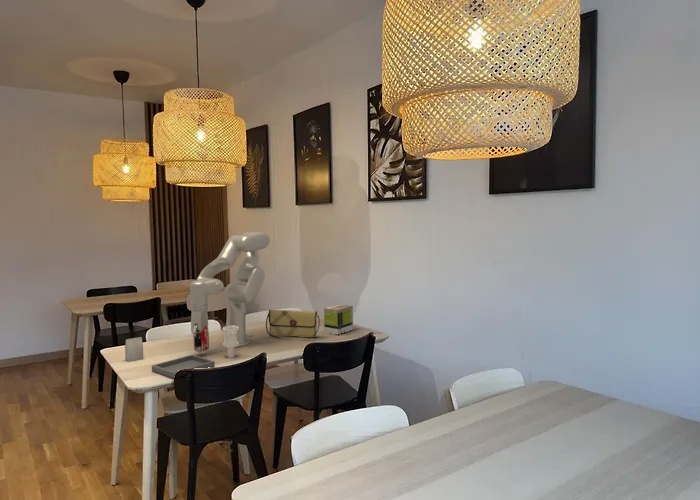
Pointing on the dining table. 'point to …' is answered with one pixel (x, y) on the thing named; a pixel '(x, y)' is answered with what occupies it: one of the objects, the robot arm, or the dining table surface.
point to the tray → (181, 365)
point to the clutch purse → (292, 323)
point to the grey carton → (134, 349)
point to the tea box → (338, 319)
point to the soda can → (203, 340)
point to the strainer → (230, 339)
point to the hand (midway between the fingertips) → (201, 343)
